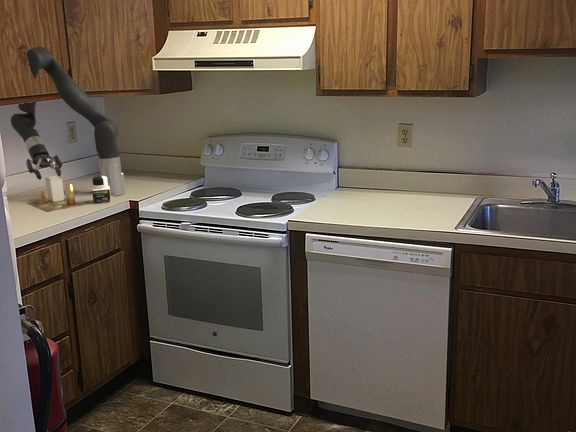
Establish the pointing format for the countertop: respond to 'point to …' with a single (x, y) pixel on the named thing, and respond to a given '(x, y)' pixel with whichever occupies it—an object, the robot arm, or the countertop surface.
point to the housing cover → (54, 188)
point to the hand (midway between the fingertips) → (50, 177)
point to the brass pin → (70, 194)
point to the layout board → (51, 203)
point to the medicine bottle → (101, 190)
